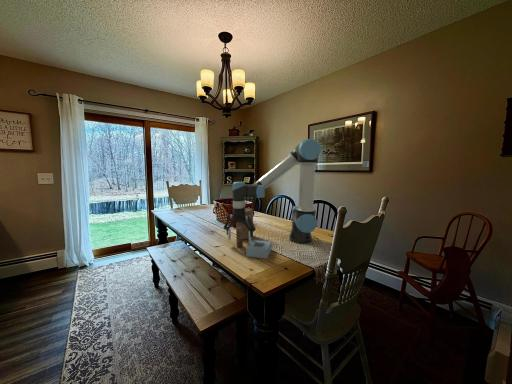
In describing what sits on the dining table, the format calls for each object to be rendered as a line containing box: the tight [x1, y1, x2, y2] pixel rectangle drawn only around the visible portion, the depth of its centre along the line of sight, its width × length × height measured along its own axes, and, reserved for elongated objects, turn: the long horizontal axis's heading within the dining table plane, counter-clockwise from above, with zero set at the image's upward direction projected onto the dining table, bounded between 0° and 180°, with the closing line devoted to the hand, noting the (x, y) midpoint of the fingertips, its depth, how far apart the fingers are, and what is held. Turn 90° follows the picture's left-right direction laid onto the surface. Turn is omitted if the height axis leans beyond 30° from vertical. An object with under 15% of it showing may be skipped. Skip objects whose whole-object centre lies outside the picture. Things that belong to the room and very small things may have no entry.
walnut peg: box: [235, 227, 244, 249], centre depth 127 cm, size 4×4×12 cm
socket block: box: [245, 239, 272, 259], centre depth 118 cm, size 12×12×5 cm
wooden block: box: [235, 207, 254, 241], centre depth 143 cm, size 10×10×20 cm
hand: (239, 240), depth 127 cm, fingers open, 13 cm apart
